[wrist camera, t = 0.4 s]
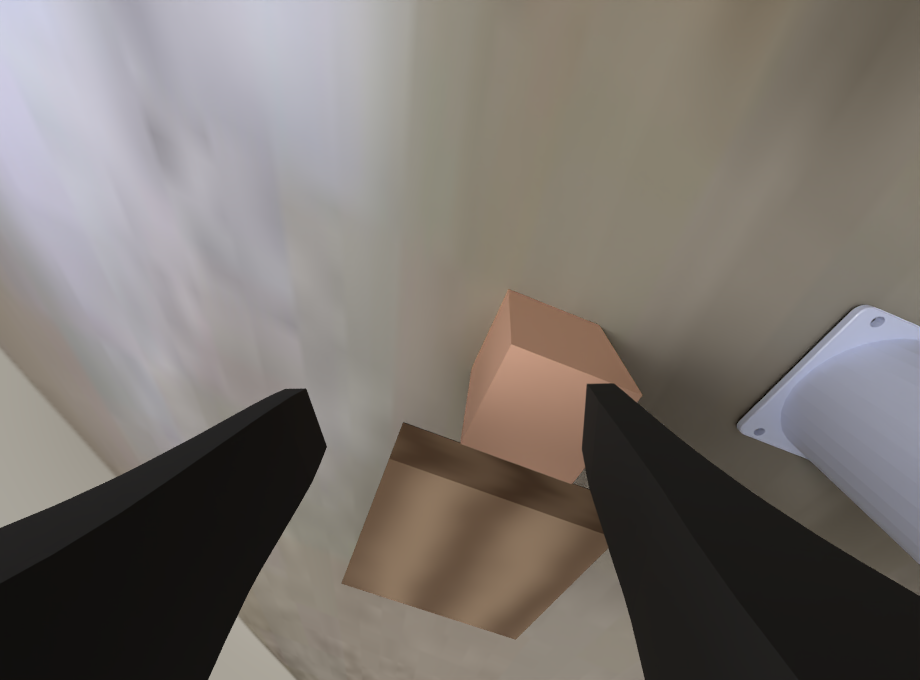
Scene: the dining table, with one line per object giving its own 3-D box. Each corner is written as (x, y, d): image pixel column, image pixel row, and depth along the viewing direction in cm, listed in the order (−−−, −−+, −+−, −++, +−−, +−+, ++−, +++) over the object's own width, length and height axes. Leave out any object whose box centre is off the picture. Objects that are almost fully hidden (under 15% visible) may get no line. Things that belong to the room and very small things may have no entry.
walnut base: (603, 495, 22) (617, 538, 20) (514, 595, 29) (515, 639, 26) (403, 422, 21) (389, 458, 19) (356, 543, 28) (341, 583, 25)
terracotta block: (599, 325, 17) (642, 395, 12) (552, 398, 20) (571, 484, 14) (508, 288, 17) (511, 344, 12) (471, 367, 19) (460, 443, 14)
